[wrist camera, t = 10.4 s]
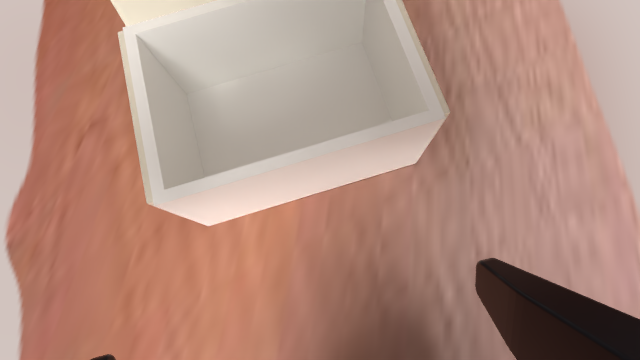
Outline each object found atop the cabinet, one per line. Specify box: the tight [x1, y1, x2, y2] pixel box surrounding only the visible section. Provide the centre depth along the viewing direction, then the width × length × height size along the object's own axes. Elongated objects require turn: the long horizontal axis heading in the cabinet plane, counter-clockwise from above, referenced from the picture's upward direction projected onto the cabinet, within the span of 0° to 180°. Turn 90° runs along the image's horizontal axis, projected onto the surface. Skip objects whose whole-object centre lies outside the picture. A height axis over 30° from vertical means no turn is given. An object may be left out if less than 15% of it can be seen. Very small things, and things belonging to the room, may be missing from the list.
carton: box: [118, 0, 450, 226], centre depth 21 cm, size 10×15×7 cm
